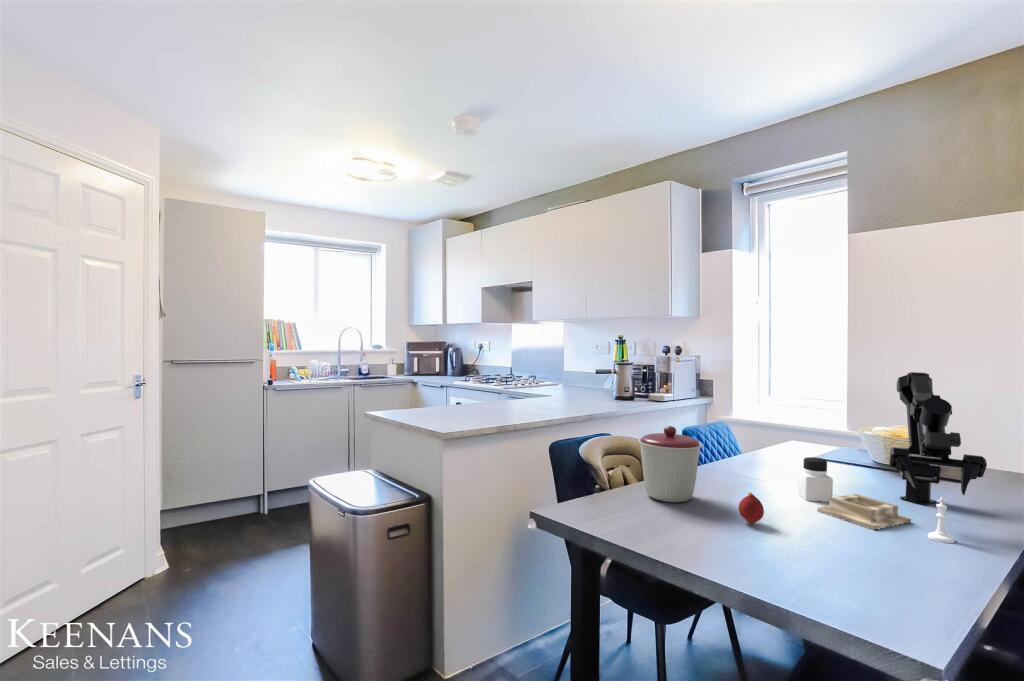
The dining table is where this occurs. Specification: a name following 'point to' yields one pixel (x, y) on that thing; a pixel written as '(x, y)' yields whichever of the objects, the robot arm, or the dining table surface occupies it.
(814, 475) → the medicine bottle
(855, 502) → the socket block
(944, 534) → the chess piece
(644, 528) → the dining table surface
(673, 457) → the canister
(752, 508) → the onion
